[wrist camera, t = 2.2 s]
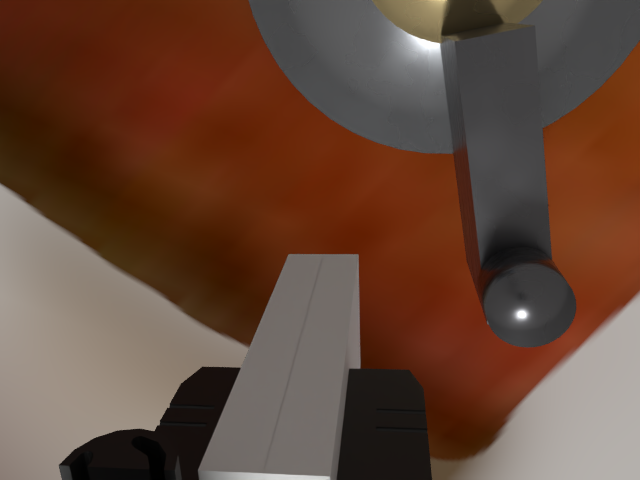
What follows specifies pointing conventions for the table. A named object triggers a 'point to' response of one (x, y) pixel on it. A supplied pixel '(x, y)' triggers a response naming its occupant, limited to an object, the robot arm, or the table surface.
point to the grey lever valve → (497, 159)
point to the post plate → (430, 63)
